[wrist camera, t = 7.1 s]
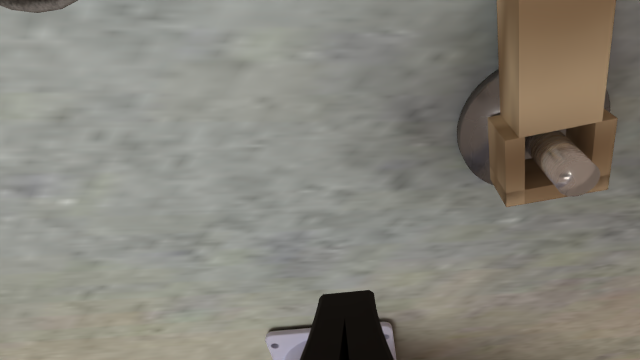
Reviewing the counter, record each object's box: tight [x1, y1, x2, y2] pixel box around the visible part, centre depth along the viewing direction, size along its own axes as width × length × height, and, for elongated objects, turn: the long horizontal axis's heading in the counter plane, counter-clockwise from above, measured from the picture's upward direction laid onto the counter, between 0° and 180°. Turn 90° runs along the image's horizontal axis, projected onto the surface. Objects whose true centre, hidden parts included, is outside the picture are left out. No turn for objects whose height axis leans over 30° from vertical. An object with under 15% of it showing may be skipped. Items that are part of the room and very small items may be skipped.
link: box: [487, 0, 618, 207], centre depth 14 cm, size 11×4×2 cm, turn 15°
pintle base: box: [457, 70, 610, 196], centre depth 16 cm, size 6×6×4 cm
